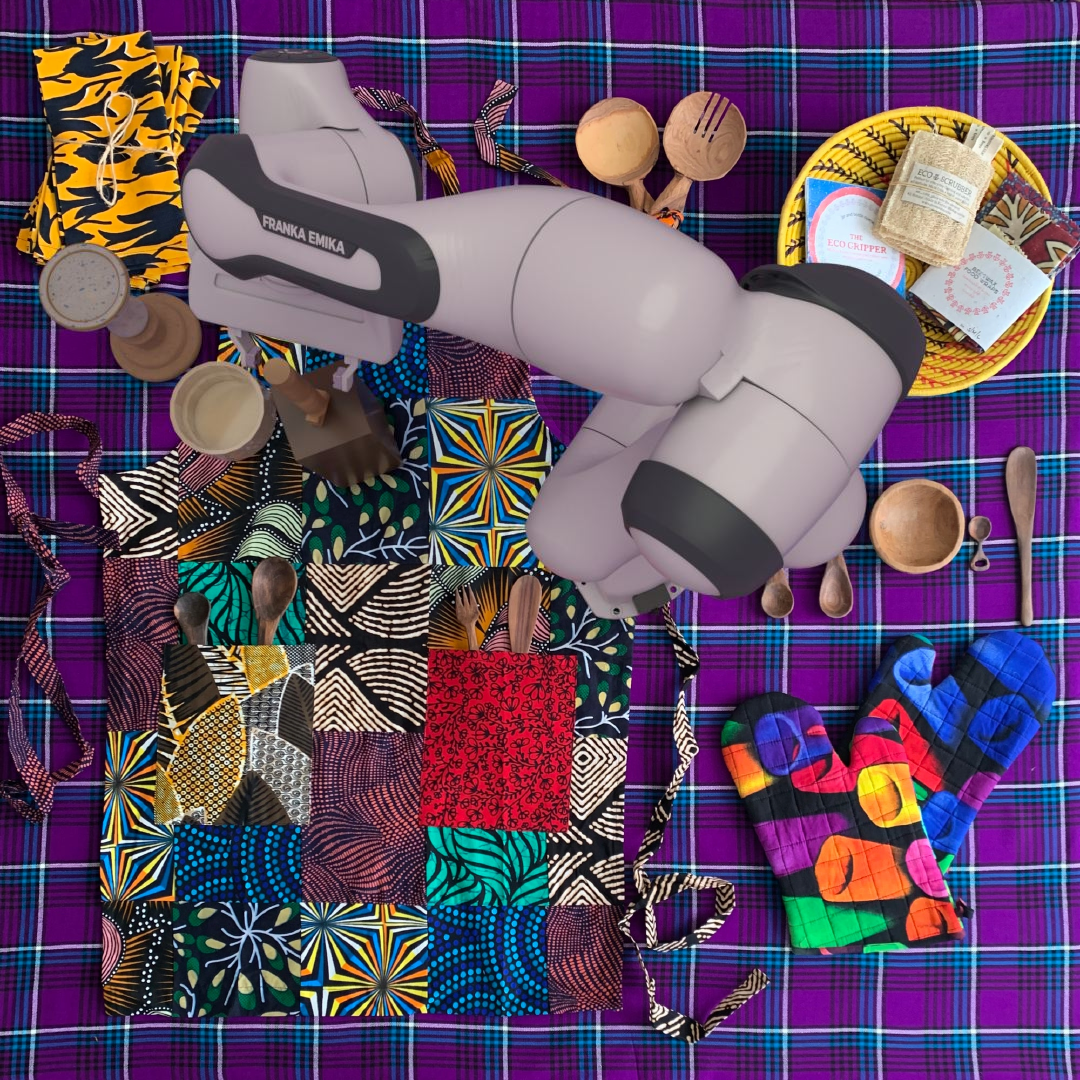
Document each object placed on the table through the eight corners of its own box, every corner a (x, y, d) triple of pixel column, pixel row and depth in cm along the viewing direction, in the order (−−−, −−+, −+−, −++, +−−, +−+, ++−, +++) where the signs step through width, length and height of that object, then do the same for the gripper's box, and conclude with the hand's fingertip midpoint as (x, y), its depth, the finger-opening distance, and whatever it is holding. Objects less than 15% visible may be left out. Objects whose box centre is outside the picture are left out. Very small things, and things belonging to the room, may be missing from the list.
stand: (404, 465, 123) (372, 432, 101) (341, 489, 122) (295, 461, 100) (381, 404, 123) (344, 358, 101) (319, 427, 123) (268, 386, 101)
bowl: (290, 443, 123) (276, 434, 117) (205, 475, 123) (187, 467, 117) (260, 360, 124) (245, 347, 118) (176, 392, 124) (157, 380, 118)
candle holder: (221, 345, 124) (157, 293, 104) (148, 401, 124) (70, 359, 104) (167, 277, 125) (94, 212, 105) (95, 332, 125) (8, 277, 105)
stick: (313, 391, 101) (268, 349, 85) (335, 397, 101) (294, 355, 85) (304, 422, 101) (257, 386, 85) (327, 428, 101) (284, 392, 85)
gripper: (168, 230, 80) (182, 367, 89) (392, 284, 79) (384, 417, 88) (201, 205, 85) (212, 337, 94) (413, 256, 84) (403, 384, 93)
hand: (297, 376), depth 91 cm, fingers open, 8 cm apart
